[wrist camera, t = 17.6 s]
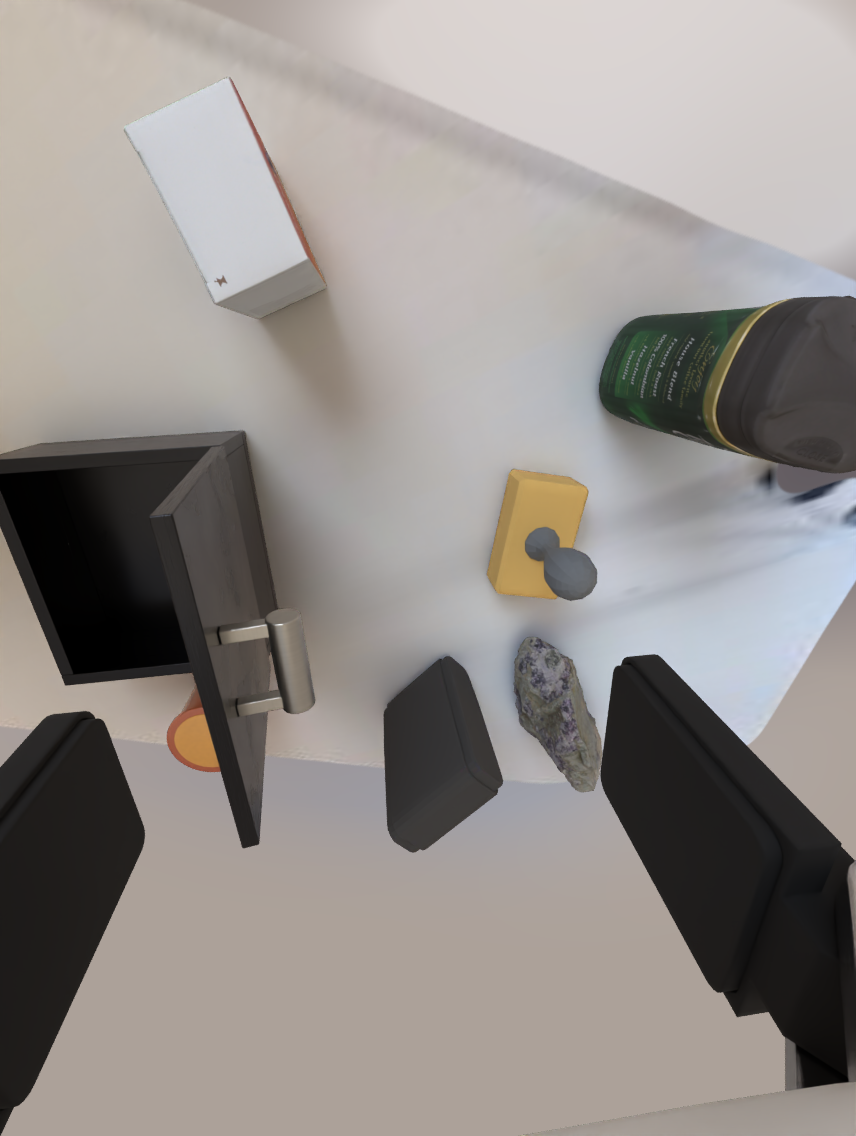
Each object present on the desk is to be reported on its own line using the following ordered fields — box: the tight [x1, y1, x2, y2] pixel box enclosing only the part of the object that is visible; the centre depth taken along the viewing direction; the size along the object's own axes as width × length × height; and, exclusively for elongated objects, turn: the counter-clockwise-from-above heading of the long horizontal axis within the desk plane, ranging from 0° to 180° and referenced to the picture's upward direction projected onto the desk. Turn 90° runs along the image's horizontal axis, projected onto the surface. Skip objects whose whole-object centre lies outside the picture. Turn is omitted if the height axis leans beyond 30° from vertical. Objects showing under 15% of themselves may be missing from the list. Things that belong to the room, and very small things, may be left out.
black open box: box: [0, 431, 278, 685], centre depth 38 cm, size 15×17×7 cm
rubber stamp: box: [487, 469, 597, 601], centre depth 38 cm, size 10×6×12 cm, turn 170°
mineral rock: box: [514, 637, 602, 792], centre depth 46 cm, size 13×11×10 cm
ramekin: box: [167, 685, 220, 772], centre depth 43 cm, size 7×7×8 cm
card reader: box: [384, 656, 503, 852], centre depth 43 cm, size 9×4×15 cm, turn 133°
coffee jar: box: [599, 296, 856, 473], centre depth 31 cm, size 10×8×19 cm
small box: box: [124, 77, 327, 319], centre depth 29 cm, size 8×6×10 cm
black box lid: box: [149, 446, 315, 848], centre depth 28 cm, size 16×17×4 cm
